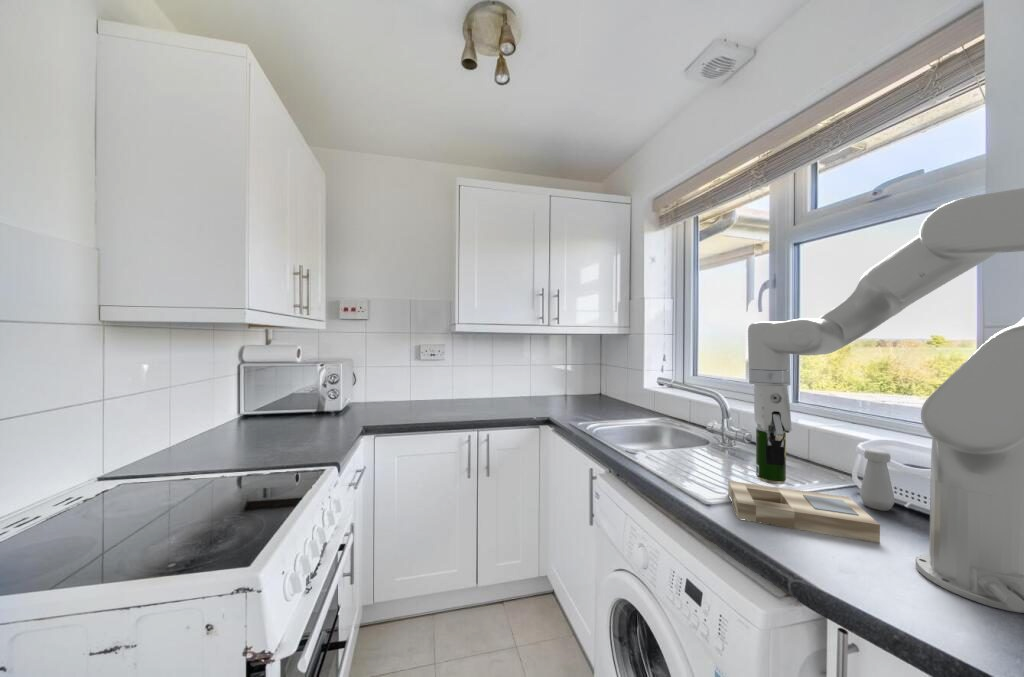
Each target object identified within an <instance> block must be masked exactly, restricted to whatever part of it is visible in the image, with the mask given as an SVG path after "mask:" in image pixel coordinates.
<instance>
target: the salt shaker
mask: <svg viewBox="0 0 1024 677" xmlns="http://www.w3.org/2000/svg"><path fill="white" fill-rule="evenodd" d="M863 455H864V458H865V459H866V460H867V462H866V466H865V468H864V469H865V470H864V474H863V478H862V483H861V486H860V489H859V496H860V499H861V501H862V502H863V505H864V506H867V507H868V508H870V509H873V510H877V511H881V512H885V511H887V512H888V511H890V510H891V509H892V508H893V506H894V505H895V503H896V498H895V495H894V491H893V486H892V482H891V476H890V472H889V468H888V463H890V462H891V454H890V453H889V452H888V451H886V450H882V449H878V448H867V449H865V450H864V454H863Z"/></svg>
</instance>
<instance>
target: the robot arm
mask: <svg viewBox="0 0 1024 677" xmlns="http://www.w3.org/2000/svg"><path fill="white" fill-rule="evenodd" d="M1016 252H1019V253H1020V252H1024V187H1022V188H1017V189H1016V188H1014V189H1009V190H1002V191H997V192H996V191H994V192H990V193H984V194H978V195H972V196H968V197H962V198H959V199H954V200H952V201H950V202H948V203H944V204H942V205H941V206H939V207H937V208H936V209H935V210H932V212H931V213H929V214H928V215H927V216H926V217H925V219H924V220H923V222H922V223H921V226H920V229H919V234H918V235H917V236H915V237H914V238H913V239H911V240H910V241H908V242H907V243H906V244H904V245H902V246H901V247H899V248H898V249H897V250H895V251H894V252H892V253H891V254H889V255H888V256H886V257H885V258H884V259H882V260H881V261H879V262H878V263H876V264H875V265H873V266H872V267H870V268H869V269H868V270H866V271H865V272H864V273H863V275H862V276H861V277H860V279H859V281H858V283H857V285H856V286H855V289H854V290H853V292H852V293H851V294H849V296H848V297H846V298H845V299H844V300H843V301H842V302H840V303H839V304H838V305H837V306H835V307H833V308H832V309H831V310H829V311H827V312H826V313H824V314H823V315H821V316H819V317H818V318H809V317H804V318H796V319H791V320H786V321H777V320H776V321H757V322H752V323H751V324H749V325H748V329H747V350H748V351H747V352H748V353H747V355H748V358H747V359H748V383H749V384H750V385H754V386H753V387H754V388H753V393H754V394H753V400H754V401H753V408H754V409H753V410H754V412H753V413H754V414H753V415H754V421H755V424H756V425H757V424H759V425H760V426H761V428H762V429H763V430H765V431H766V438H767V445H765V455H766V463H767V464H770V465H780V466H783V465H784V441H783V435H784V433H783V429H784V431H785V432H786V434H790V433H791V432H792V419H791V406H790V405H791V404H790V395H789V390H788V386H791V385H792V384H791V355H797V356H808V357H809V356H817V355H818V356H820V355H829V354H832V353H834V352H836V351H838V350H840V349H843V348H845V347H846V346H848V345H850V344H851V343H853V342H855V341H856V340H858V339H859V338H861V337H863V336H865V335H867V334H868V333H870V332H871V331H873V330H874V329H876V328H878V327H880V326H881V325H882V324H883V323H885V322H886V321H888V320H889V319H891V318H893V317H894V316H896V315H898V314H900V313H901V312H902V311H903V310H905V309H906V308H907V307H909V306H911V305H912V304H913V303H915V302H917V301H918V300H921V298H924V297H926V296H927V295H929V294H931V293H932V292H934V291H936V290H937V289H939V288H940V287H943V285H944V286H945V285H946V284H947V283H950V282H951V281H952V280H954V279H955V278H958V277H959V276H961V275H963V274H965V273H966V272H968V271H970V270H971V269H974V268H975V267H976V266H978V265H980V264H982V263H984V262H985V261H987V260H988V259H990V258H991V257H993V256H995V255H996V254H1000V253H1001V254H1002V253H1016ZM920 419H921V423H922V426H923V428H924V429H925V431H926V432H927V433H928V435H929V436H930V437H931V438H932V440H931V450H930V451H931V453H930V454H931V455H930V456H931V457H930V481H929V482H930V485H929V486H930V488H929V489H930V490H929V492H930V495H929V496H930V498H929V553H925V554H920V555H918V556H916V558H915V567H916V569H917V571H918V572H920V574H921V575H922V576H924V577H925V578H926V579H928V580H929V581H931V582H932V583H934V584H936V585H938V586H940V587H941V588H943V589H945V590H947V591H949V592H951V593H952V594H953V593H954V594H955V595H958V596H961V597H962V598H966V599H968V600H970V601H974V602H976V603H979V604H981V605H982V604H983V605H985V606H988V607H992V608H995V609H999V610H1003V611H1008V612H1014V613H1018V614H1024V317H1022V318H1021V319H1020V320H1019V321H1018V322H1017V323H1015V324H1014V325H1013V324H1012V325H1011V326H1008V327H1005V328H1002V329H1001V330H999V331H998V332H996V333H994V334H992V336H990V337H989V338H987V340H985V342H984V343H982V344H981V345H980V346H979V347H978V348H977V349H976V350H975V351H974V352H973V353H972V354H971V355H970V356H969V357H968V358H967V359H966V360H965V361H964V362H963V363H962V364H961V365H960V366H958V368H957V369H956V370H955V371H954V372H953V373H952V374H951V375H950V376H948V378H947V379H946V380H945V381H944V382H942V384H940V386H938V387H937V388H936V390H934V391H933V393H931V394H930V395H929V396H928V397H927V398H926V400H925V401H924V403H923V405H922V407H921V410H920ZM769 428H774V431H771V430H769ZM770 434H774V435H772V436H771V437H770Z"/></svg>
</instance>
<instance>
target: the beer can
mask: <svg viewBox="0 0 1024 677" xmlns="http://www.w3.org/2000/svg"><path fill="white" fill-rule="evenodd" d="M756 425H757V426H756V428H755V465H756V466H755V476H756V478H757V479H758V480H759V481H760V482H764V483H766V484H772V485H783V484H785V482H786V480H787V442H786V441H787V433H786V432H785V431H784V429H783V433H784V435H783V441H784V465H783V466H780V465H770V464H767V463H766V455H765V445H767V438H766V431H765V430H763V429H762V428H761V426H760V425H759V424H756ZM769 430H771V431H774V428H769ZM772 435H774V434H770V437H771V436H772Z"/></svg>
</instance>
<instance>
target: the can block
mask: <svg viewBox="0 0 1024 677" xmlns="http://www.w3.org/2000/svg"><path fill="white" fill-rule="evenodd" d="M727 486H728V488H727V492H728V494H727V495H729V496H730V497H731V499H732V503H731V505H732V508H733V507H734V508H733V510H734V509H735V510H734V513H735V512H736V513H735V515H736V514H737V515H736V517H738V518H739V519H745V520H750V521H749V522H751V521H755V522H754V523H757V522H761V523H760V524H763V523H766V524H765V525H769V524H771V525H770V526H776V527H782V528H787V529H792V530H800V531H806V532H810V533H817V534H822V535H824V534H825V535H829V536H834V537H835V536H836V537H841V538H847V539H853V540H858V541H864V542H870V543H877V544H880V543H881V524H880V523H878V521H877V520H876V519H874V518H873V517H872V516H870V514H869V513H867V511H865V510H864V509H863V508H861V507H860V506H859V505H858V504H857V503H856V502H855V501H854V500H852V499H851V498H850V497H848V496H843V495H835V494H829V493H822V492H821V493H820V492H814V491H805V490H798V489H793V488H792V489H791V488H784V487H777V486H770V485H762V484H754V483H749V482H748V483H747V482H746V483H745V482H740V481H733V480H732V481H731V480H728V484H727ZM729 496H728V497H729ZM738 518H737V519H738ZM739 519H738V520H739ZM745 520H744V521H745Z"/></svg>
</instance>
